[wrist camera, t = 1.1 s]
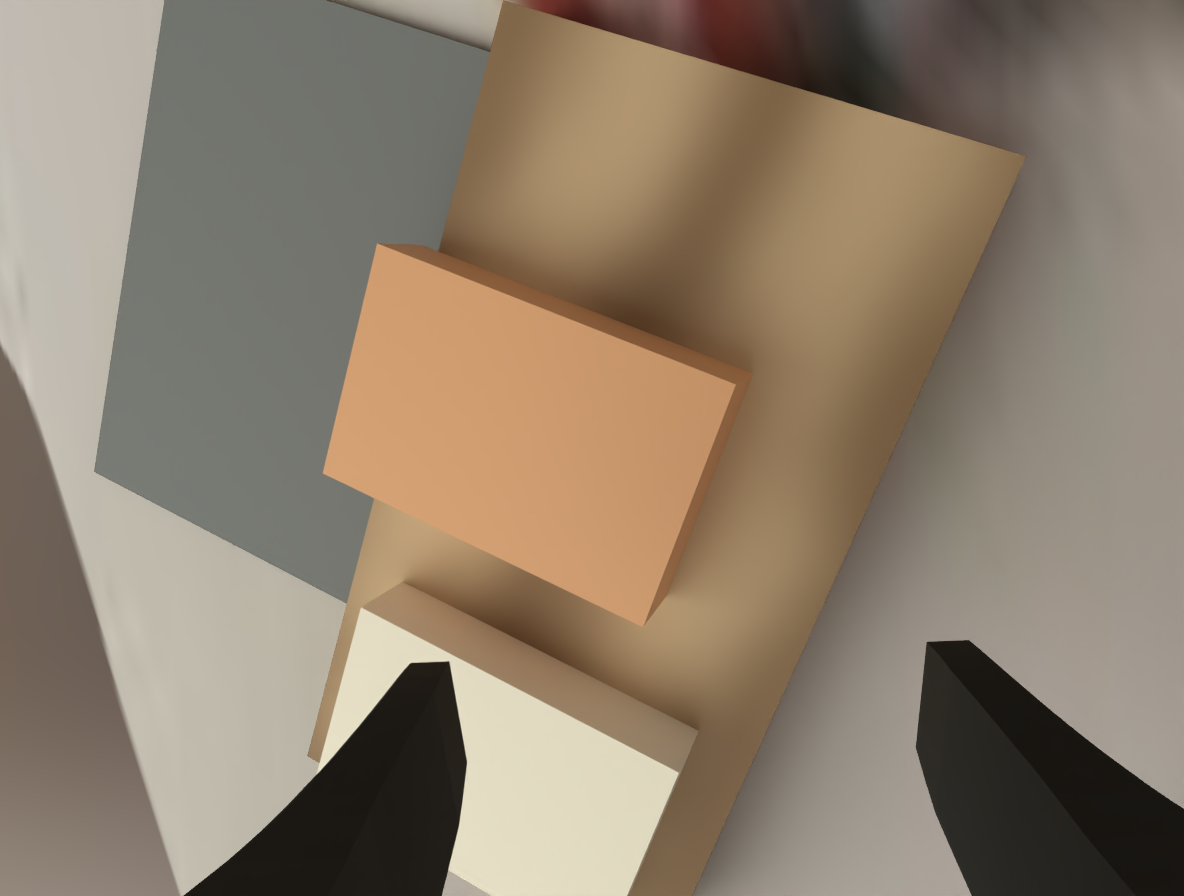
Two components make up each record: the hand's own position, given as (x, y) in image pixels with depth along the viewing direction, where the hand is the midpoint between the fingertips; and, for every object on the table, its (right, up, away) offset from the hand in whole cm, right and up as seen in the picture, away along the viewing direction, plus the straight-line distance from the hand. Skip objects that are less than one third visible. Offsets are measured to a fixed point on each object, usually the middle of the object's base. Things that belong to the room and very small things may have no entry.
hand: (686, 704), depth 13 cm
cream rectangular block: (-4, -4, +11) cm, 12 cm away
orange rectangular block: (-3, +5, +9) cm, 10 cm away
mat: (-11, +9, +14) cm, 19 cm away
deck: (-1, +3, +11) cm, 12 cm away
